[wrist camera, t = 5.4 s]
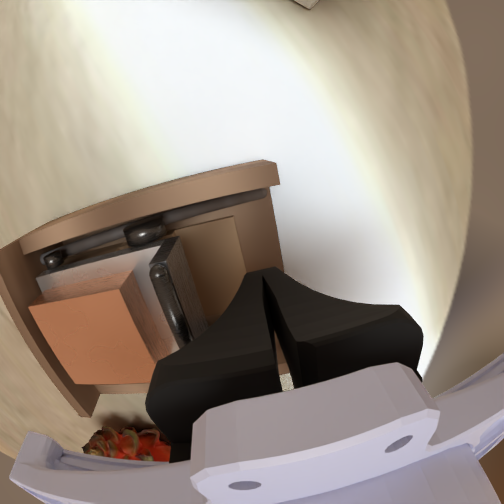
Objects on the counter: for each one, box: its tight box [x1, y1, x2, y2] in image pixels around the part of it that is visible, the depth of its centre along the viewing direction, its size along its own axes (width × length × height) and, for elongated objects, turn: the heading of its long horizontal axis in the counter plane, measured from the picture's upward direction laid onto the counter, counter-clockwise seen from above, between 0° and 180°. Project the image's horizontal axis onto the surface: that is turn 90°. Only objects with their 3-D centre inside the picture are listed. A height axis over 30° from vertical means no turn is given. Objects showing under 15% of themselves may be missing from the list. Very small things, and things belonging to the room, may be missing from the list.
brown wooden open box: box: [0, 160, 290, 418], centre depth 12 cm, size 13×10×6 cm
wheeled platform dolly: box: [28, 216, 209, 384], centre depth 11 cm, size 8×8×5 cm
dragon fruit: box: [82, 426, 171, 462], centre depth 18 cm, size 8×8×12 cm
